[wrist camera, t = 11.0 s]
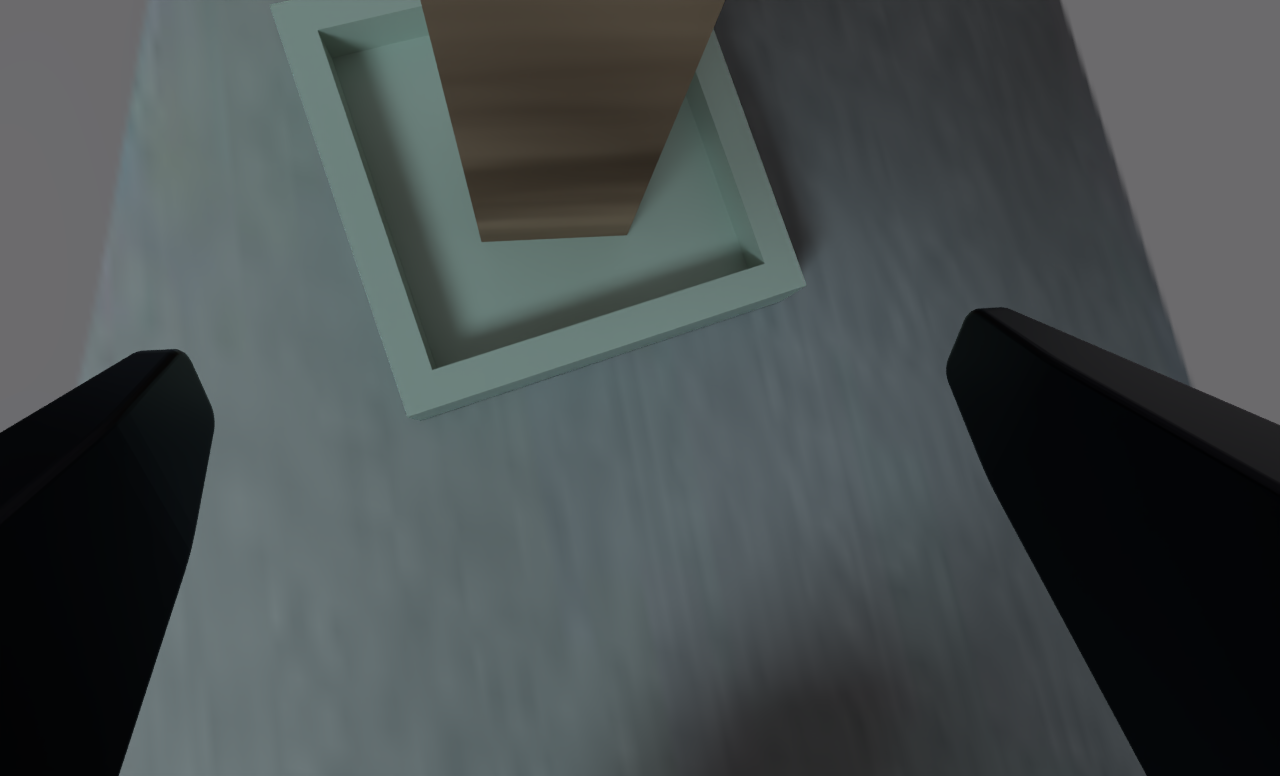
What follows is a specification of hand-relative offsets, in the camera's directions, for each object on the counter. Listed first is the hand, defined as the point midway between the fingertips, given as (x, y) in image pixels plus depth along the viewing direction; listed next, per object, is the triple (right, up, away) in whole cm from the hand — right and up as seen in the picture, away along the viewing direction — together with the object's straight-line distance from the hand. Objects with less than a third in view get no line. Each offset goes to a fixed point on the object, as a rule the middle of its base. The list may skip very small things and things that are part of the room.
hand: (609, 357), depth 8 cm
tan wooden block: (-2, +6, +13) cm, 15 cm away
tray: (-3, +6, +14) cm, 16 cm away
